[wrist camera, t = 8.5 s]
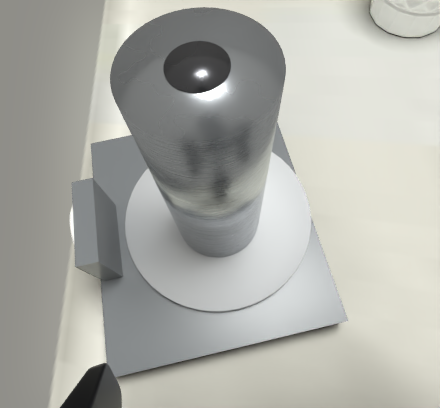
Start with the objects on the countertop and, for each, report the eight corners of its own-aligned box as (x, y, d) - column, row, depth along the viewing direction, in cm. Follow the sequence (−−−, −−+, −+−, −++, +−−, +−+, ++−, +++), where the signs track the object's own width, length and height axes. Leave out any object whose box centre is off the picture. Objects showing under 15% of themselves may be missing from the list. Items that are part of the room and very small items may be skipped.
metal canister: (275, 227, 21) (323, 78, 9) (206, 274, 20) (166, 173, 8) (228, 168, 23) (220, -16, 11) (163, 209, 22) (80, 52, 10)
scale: (338, 323, 21) (376, 314, 15) (118, 376, 20) (73, 387, 15) (269, 122, 27) (277, 64, 22) (100, 157, 27) (63, 107, 21)
